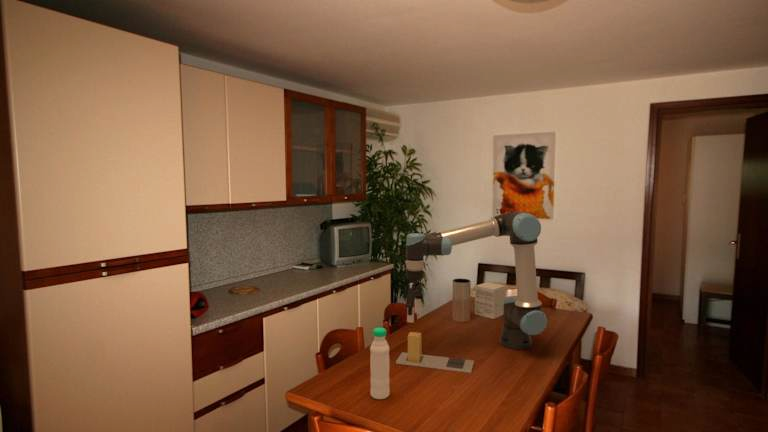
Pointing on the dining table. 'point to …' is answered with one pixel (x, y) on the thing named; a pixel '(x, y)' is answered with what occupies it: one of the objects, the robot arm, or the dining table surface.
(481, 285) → the supplement box
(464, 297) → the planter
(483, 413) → the dining table surface
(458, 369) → the white flat board
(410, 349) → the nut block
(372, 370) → the water bottle
